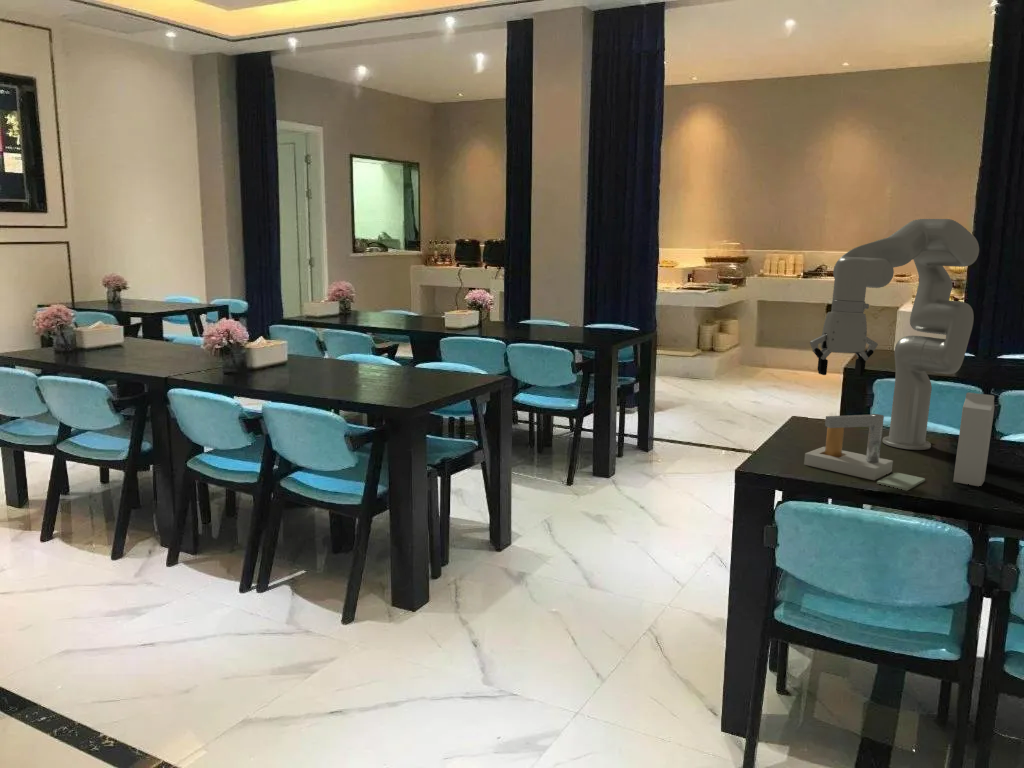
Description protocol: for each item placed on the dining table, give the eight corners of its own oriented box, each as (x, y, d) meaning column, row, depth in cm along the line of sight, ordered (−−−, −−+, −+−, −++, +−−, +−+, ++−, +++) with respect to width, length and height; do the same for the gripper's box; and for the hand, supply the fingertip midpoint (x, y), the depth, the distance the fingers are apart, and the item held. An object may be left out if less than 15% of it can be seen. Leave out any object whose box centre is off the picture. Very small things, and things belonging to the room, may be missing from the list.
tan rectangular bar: (827, 461, 213) (832, 417, 211) (842, 465, 210) (847, 420, 208) (821, 464, 210) (825, 419, 208) (836, 468, 207) (840, 422, 205)
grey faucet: (820, 461, 200) (824, 415, 198) (873, 458, 204) (878, 413, 202) (827, 465, 198) (832, 418, 196) (881, 462, 202) (886, 416, 199)
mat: (895, 474, 203) (895, 472, 203) (924, 480, 198) (925, 478, 198) (876, 483, 195) (876, 481, 194) (906, 490, 190) (907, 488, 190)
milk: (980, 487, 194) (993, 397, 190) (952, 482, 198) (964, 393, 194) (984, 481, 199) (996, 393, 195) (956, 476, 203) (968, 390, 198)
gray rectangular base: (822, 457, 217) (823, 446, 217) (891, 472, 205) (892, 460, 204) (804, 464, 210) (805, 453, 209) (874, 480, 197) (875, 468, 197)
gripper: (872, 307, 207) (865, 373, 210) (807, 305, 206) (801, 371, 209) (888, 309, 200) (880, 378, 203) (821, 307, 198) (814, 376, 201)
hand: (840, 374), depth 206 cm, fingers open, 9 cm apart
